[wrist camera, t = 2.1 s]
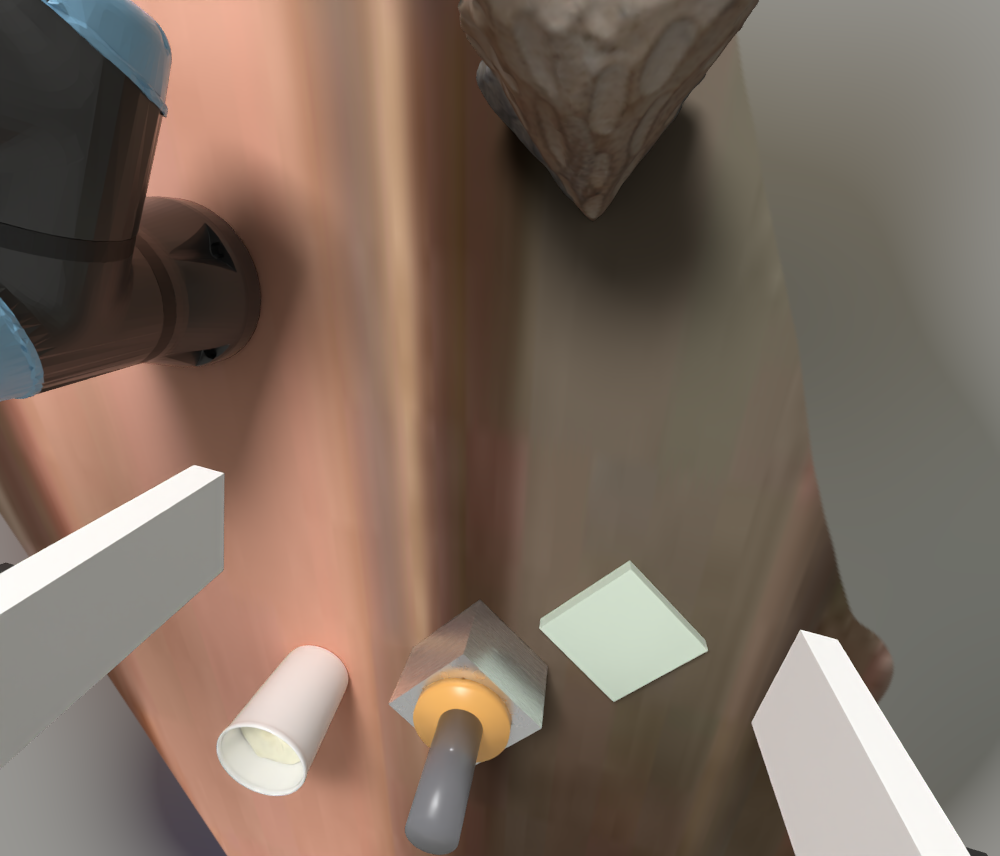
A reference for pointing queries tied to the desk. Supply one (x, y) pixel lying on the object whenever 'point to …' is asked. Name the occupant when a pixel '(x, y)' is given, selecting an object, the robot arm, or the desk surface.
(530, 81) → the owl
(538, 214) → the desk surface
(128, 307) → the robot arm
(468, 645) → the block
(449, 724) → the end cover
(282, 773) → the candle holder
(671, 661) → the mat
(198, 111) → the desk surface
